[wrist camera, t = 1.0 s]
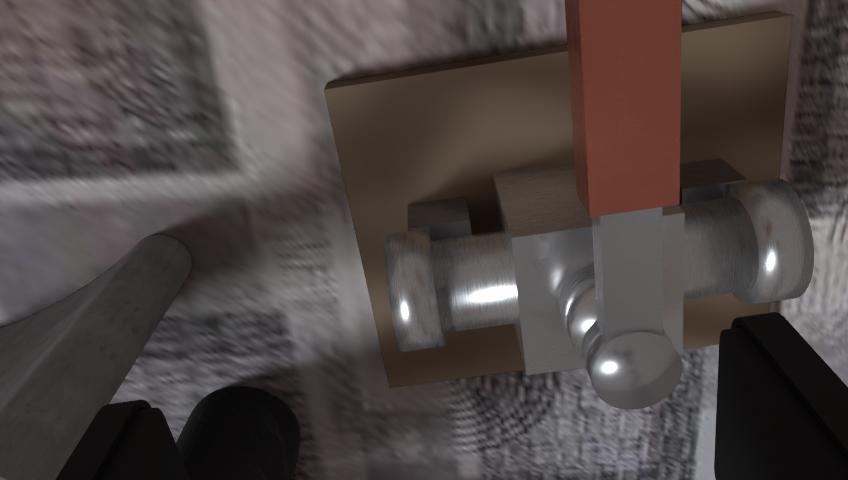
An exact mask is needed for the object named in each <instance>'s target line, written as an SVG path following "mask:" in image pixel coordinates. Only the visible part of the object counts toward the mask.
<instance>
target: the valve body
mask: <svg viewBox="0 0 848 480" xmlns="http://www.w3.org/2000/svg"><path fill="white" fill-rule="evenodd" d="M492 175H493V183H494V192H495V200H496V209H497V217H498V226H499V231H494V232H487V233H480V234H473V235H472V232H471V225H470V218H469V213H468V207H467V201H466V196H462V197H455V198H448V199H441V200H435V201H428V202H421V203H415V204H408V231H406V232H399V233H392V234H386V235H385V241H384V256H385V271H386V281H387V289H388V296H389V303H390V309H391V315H392V320H393V325H394V330H395V334H396V338H397V342H398V345H399V347H400V350H401V351H402V352H405V351H413V350H420V349H427V348H435V347H442V346H445V333H448V332H456V331H463V330H470V329H477V328H485V327H492V326H499V325H506V324H514V326H515V330H516V334H517V338H518V342H519V346H520V351H521V355H522V359H523V363H524V367H525V371H526V375H533V374H541V373H548V372H556V371H563V370H571V369H578V368H586V366H585V363H584V360H583V357H582V353H581V344H582V340H583V337H584V335H585V333H586V331H587V330H588V329H589V327H590V326H591V325H592V324H593V323H594V322H595V321H597V309H596V289H595V269H594V249H593V230H592V217H590V216H589V215H588V213H587V211H586V209H585V208H584V206H583V204H582V202H581V201H580V199H579V197H578V195H577V194H576V179H575V162H574V161H572V162H566V163H559V164H552V165H546V166H539V167H532V168H526V169H519V170H512V171H506V172H499V173H492ZM813 265H814V247H813V238H812V232H811V227H810V223H809V220H808V217H807V214H806V211H805V208H804V206H803V204H802V202H801V200H800V198H799V197H798V195H797V193H796V192H795V191H794V189H793V188H792V187H791V186H790V185H789V184H788V183H787V182H785V181H784V180H782V179H779V178H768V179H761V180H754V181H747V178H745V177H744V176H743V175H742V174H740V173H739V172H738V171H737V170H735V169H734V168H733V167H732V166H730V165H729V164H728V163H727V162H726V161H724V160H723V159H722V158H717V159H711V160H704V161H697V162H690V163H684V164H680V198H679V205H672V206H665V207H662V327H663V329H664V331H665V332H666V334H667V336H668V337H669V339H670V341H671V342H672V344H673V346H674V347H675V349H676V351H677V353H678V354H679V355H683V300H688V299H696V298H703V297H710V296H718V295H725V294H733V295H734V296H735V297H736V298H737V300H739V301H740V302H741V303H743V304H747V305H750V304H757V303H765V302H772V301H779V300H787V299H794V298H798V297H800V296H801V295H802V294H803V293H804V292H805V291H806V289H807V288H808V286H809V283H810V281H811V277H812V273H813Z"/></svg>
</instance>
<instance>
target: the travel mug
mask: <svg viewBox="0 0 848 480" xmlns="http://www.w3.org/2000/svg"><path fill="white" fill-rule="evenodd" d="M299 444H300V429H299V425H298V421H297V419H296V417H295V415H294V414H293V412H292V411H291V410H290V408H289V407H288V406H287V405H286V404H285V403H283V402H282V401H281V400H279V399H278V398H276V397H275V396H273V395H271V394H269V393H266V392H264V391H261V390H257V389H253V388H246V387H233V388H226V389H222V390H218V391H216V392H213V393H211V394H210V395H208V396H206V397H205V398H204V399H202V400H201V401H200V402H199V403H198V404H197V405H196V407H195V408H194V410H193V411H192V413H191V415H190V417H189V419H188V420H187V422H186V424H185V426H184V428H183V430H182V432H181V434H180V436H179V438H178V440H177V442H176V445H177V448H178V450H179V452H180V455H181V457H182V460H183V462H184V464H185V467H186V469H187V472H188V474H189V476H190V479H191V480H294V475H295V469H296V463H297V457H298V450H299Z"/></svg>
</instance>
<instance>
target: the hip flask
mask: <svg viewBox="0 0 848 480" xmlns="http://www.w3.org/2000/svg"><path fill="white" fill-rule="evenodd" d="M191 268H192V260H191V256H190V254H189V251H188V250H187V249H186V247H185V246H184V245H183V244H182V243H181V242H179V241H178V240H176V239H174V238H172V237H169V236H166V235H152V236H148V237H146V238H144V239H143V240H141V241H140V242H139V243H138V244H137V245H136V246H135V247H134V248H133V249H132V250H131V251H130V252H129V253H128V254H127V255H125V256H124V257H123V258H122V259H121V260H120V261H119V262H117V263H116V264H115V265H114V266H112V267H111V268H110V269H108V270H107V271H106V272H105V273H103V274H102V275H100V276H99V277H98V278H96V279H95V280H93V281H92V282H90V283H89V284H87V285H86V286H84V287H83V288H81V289H80V290H78V291H76V292H74V293H73V294H71V295H69V296H68V297H66V298H64V299H62V300H61V301H59V302H57V303H55V304H54V305H52V306H50V307H48V308H46V309H44V310H42V311H40V312H38V313H36V314H34V315H32V316H29V317H27V318H25V319H23V320H20V321H18V322H15V323H13V324H10V325H8V326H5V327H2V328H0V480H55V479H56V478H57V476H58V474H59V473H60V471H61V470H62V468H63V466H64V465H65V463H66V462H67V460H68V459H69V457H70V455H71V454H72V452H73V451H74V449H75V447H76V446H77V444H78V443H79V441H80V439H81V438H82V436H83V435H84V433H85V431H86V430H87V428H88V427H89V425H90V423H91V422H92V420H93V419H94V417H95V416H96V414H97V412H98V411H99V410H100V409H101V408H102V407H103V406H105V405H107V404H109V403H110V401H111V400H112V398H113V396H114V395H115V393H116V392H117V390H118V388H119V387H120V385H121V383H122V382H123V380H124V379H125V377H126V375H127V374H128V372H129V371H130V369H131V367H132V366H133V364H134V362H135V361H136V359H137V358H138V356H139V354H140V353H141V351H142V350H143V348H144V346H145V345H146V343H147V341H148V340H149V338H150V337H151V335H152V333H153V332H154V330H155V328H156V327H157V325H158V324H159V322H160V320H161V319H162V317H163V316H164V314H165V312H166V311H167V309H168V307H169V306H170V304H171V303H172V301H173V299H174V298H175V296H176V295H177V293H178V291H179V290H180V288H181V286H182V285H183V283H184V282H185V280H186V278H187V277H188V275H189V273H190V271H191Z"/></svg>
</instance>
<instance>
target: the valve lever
mask: <svg viewBox="0 0 848 480" xmlns="http://www.w3.org/2000/svg"><path fill="white" fill-rule="evenodd" d="M565 13H566V30H567V46H568V63H569V79H570V96H571V113H572V129H573V146H574V162H575V179H576V194H577V195H578V197H579V199H580V201H581V202H582V204H583V206H584V208H585V209H586V211H587V213H588V215H589V216H590V217H592V230H593V249H594V269H595V289H596V309H597V321H595V322H594V323H593V324H592V325H591V326H590V327H589V329H588V330H587V331H586V333H585V335H584V337H583V340H582V344H581V353H582V357H583V360H584V363H585V366H586V368H587V371H588V374H589V376H590V379H591V382H592V384H593V387H594V389H595V391H596V393H597V395H598V396H599V397H600V398H601V399H602V400H603V401H604V402H606V403H607V404H609V405H611V406H614V407H617V408H621V409H640V408H645V407H648V406H651V405H654V404H656V403H658V402H660V401H661V400H663V399H664V398H665V397H667V396H668V395H669V394H670V393H671V392H672V391H673V390H674V388H675V387H676V386H677V384H678V382H679V380H680V377H681V373H682V362H681V359H680V356H679V354H678V353H677V351H676V349H675V347H674V346H673V344H672V342H671V341H670V339H669V337H668V336H667V334H666V332H665V331H664V329H663V327H662V207H665V206H672V205H679V198H680V115H681V32H682V0H565Z"/></svg>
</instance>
